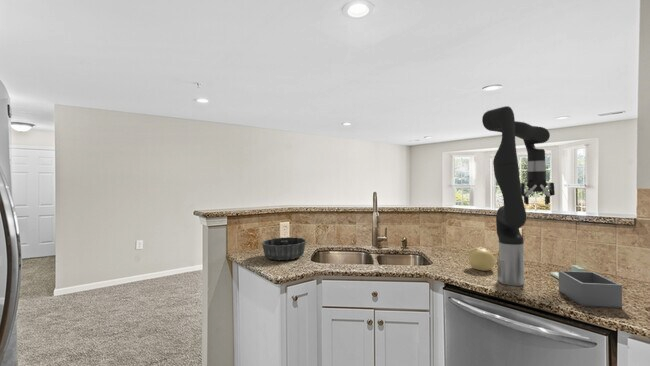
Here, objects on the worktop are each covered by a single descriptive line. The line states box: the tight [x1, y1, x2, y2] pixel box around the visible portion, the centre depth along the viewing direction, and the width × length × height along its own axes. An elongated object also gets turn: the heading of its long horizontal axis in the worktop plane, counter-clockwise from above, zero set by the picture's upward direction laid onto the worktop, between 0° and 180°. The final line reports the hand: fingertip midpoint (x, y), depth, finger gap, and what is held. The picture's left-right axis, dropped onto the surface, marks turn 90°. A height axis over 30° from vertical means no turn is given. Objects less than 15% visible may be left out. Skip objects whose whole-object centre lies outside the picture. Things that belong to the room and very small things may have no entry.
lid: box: [550, 264, 585, 280], centre depth 139 cm, size 13×17×7 cm
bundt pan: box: [261, 236, 307, 261], centre depth 192 cm, size 26×26×10 cm
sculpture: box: [467, 246, 496, 272], centre depth 160 cm, size 12×12×11 cm
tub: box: [558, 270, 623, 309], centre depth 119 cm, size 12×16×8 cm
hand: (536, 204), depth 154 cm, fingers open, 8 cm apart
